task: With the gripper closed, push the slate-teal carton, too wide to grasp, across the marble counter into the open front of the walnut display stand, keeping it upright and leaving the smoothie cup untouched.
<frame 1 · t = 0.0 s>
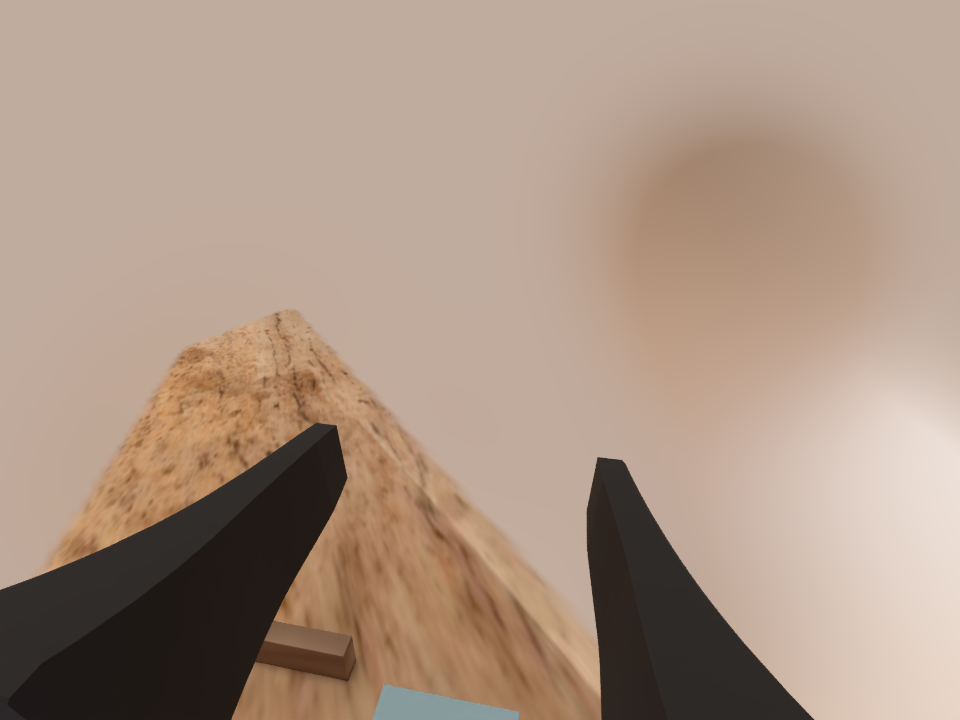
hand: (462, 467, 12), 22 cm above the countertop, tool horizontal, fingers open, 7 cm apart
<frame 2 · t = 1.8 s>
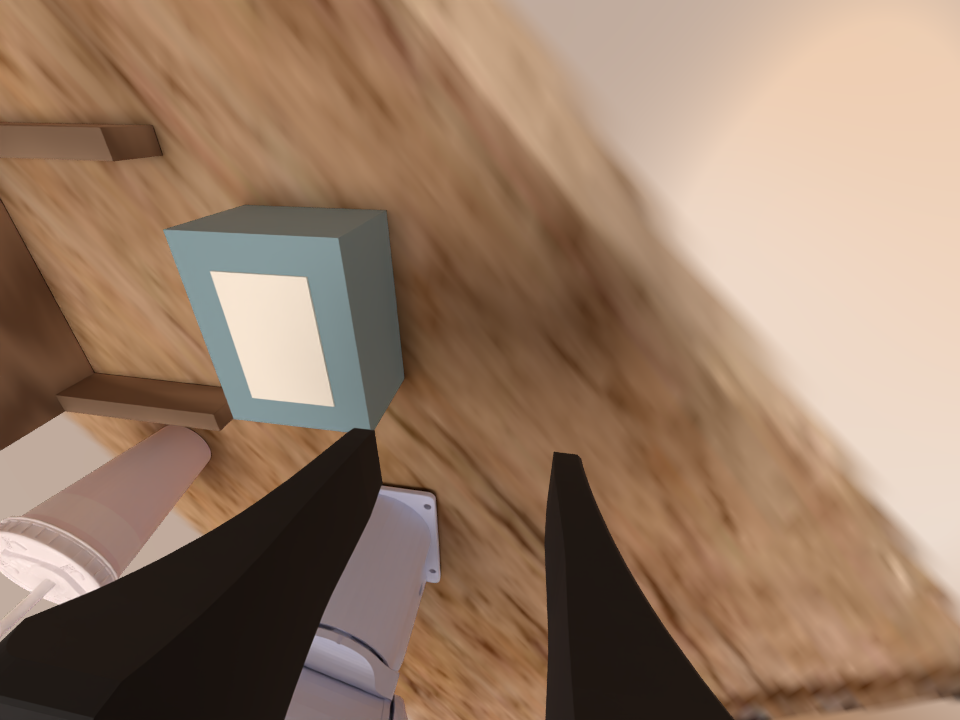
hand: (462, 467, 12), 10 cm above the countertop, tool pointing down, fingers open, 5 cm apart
smoothie: (187, 443, 30), on the countertop
carton: (332, 297, 22), on the countertop
display stand: (126, 283, 23), on the countertop
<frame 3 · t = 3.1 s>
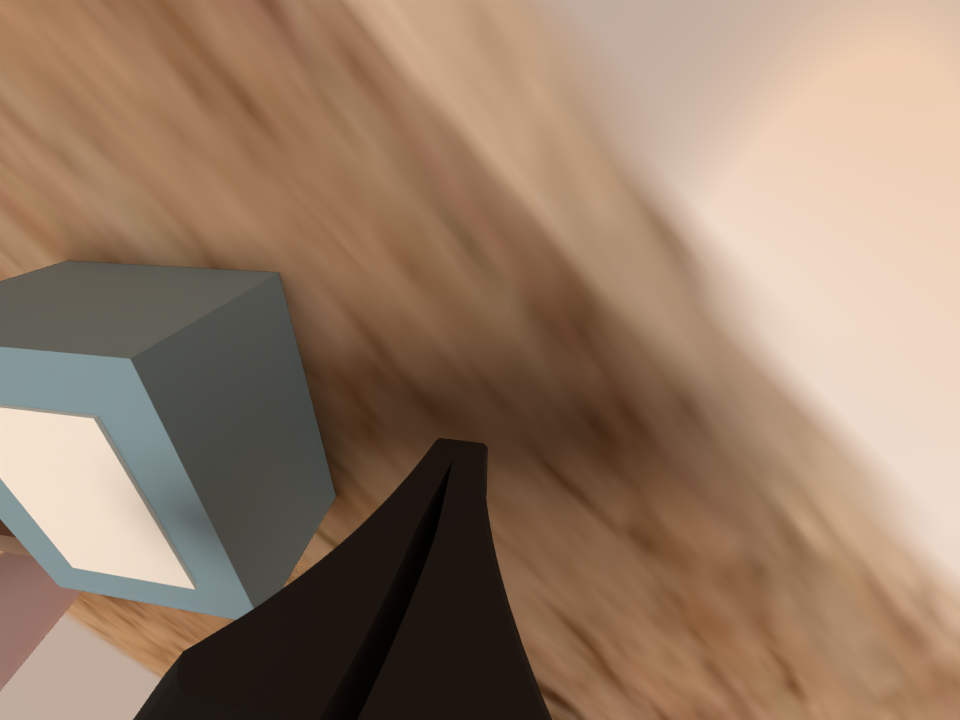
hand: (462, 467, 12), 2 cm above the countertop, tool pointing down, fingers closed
smoothie: (69, 549, 23), on the countertop
carton: (221, 389, 15), on the countertop
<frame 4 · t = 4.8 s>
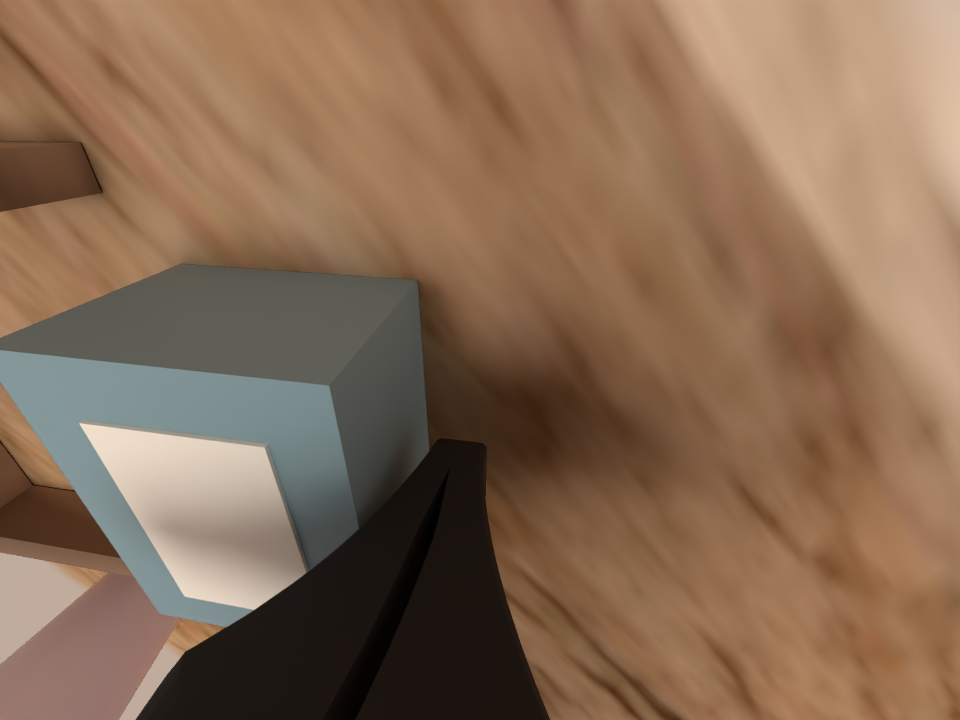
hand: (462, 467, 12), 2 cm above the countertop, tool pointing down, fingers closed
smoothie: (167, 568, 22), on the countertop
carton: (323, 403, 14), on the countertop, touching gripper
display stand: (63, 378, 15), on the countertop
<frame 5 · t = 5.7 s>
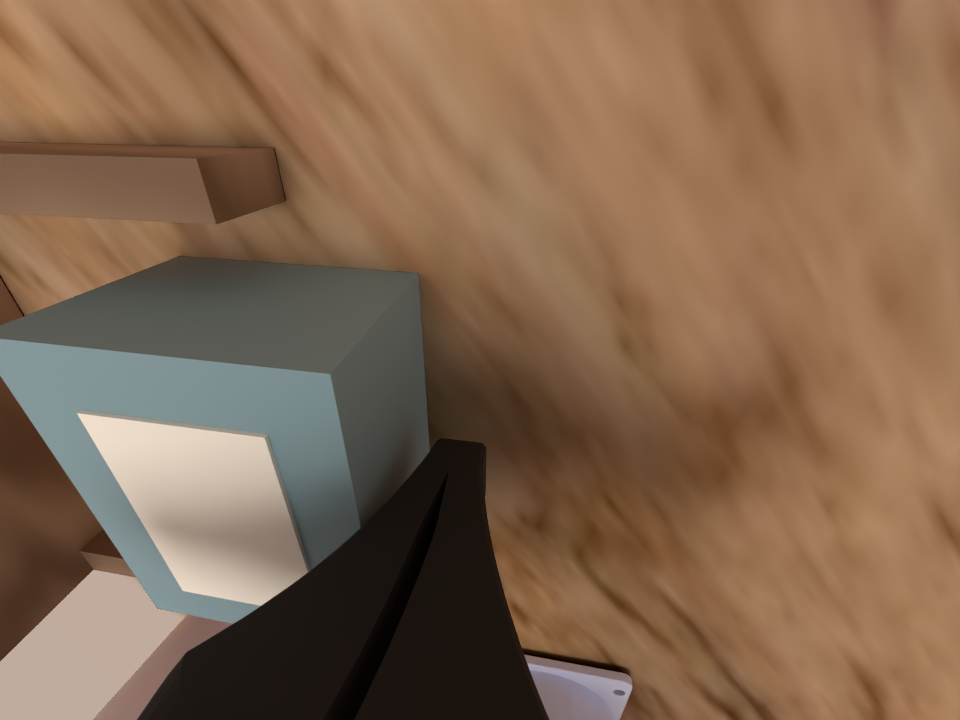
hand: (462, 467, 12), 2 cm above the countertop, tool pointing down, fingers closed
smoothie: (261, 585, 21), on the countertop
carton: (323, 397, 14), on the countertop, touching gripper
display stand: (195, 393, 15), on the countertop
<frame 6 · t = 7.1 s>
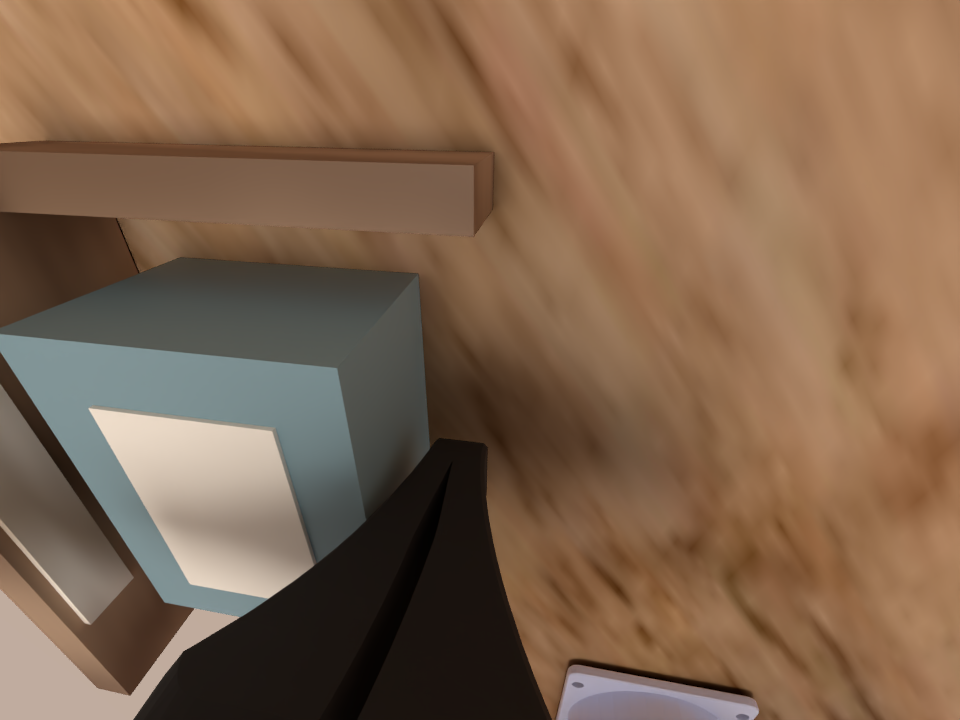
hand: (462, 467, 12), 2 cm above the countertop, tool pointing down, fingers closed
carton: (327, 394, 14), on the countertop, touching gripper
display stand: (337, 408, 14), on the countertop
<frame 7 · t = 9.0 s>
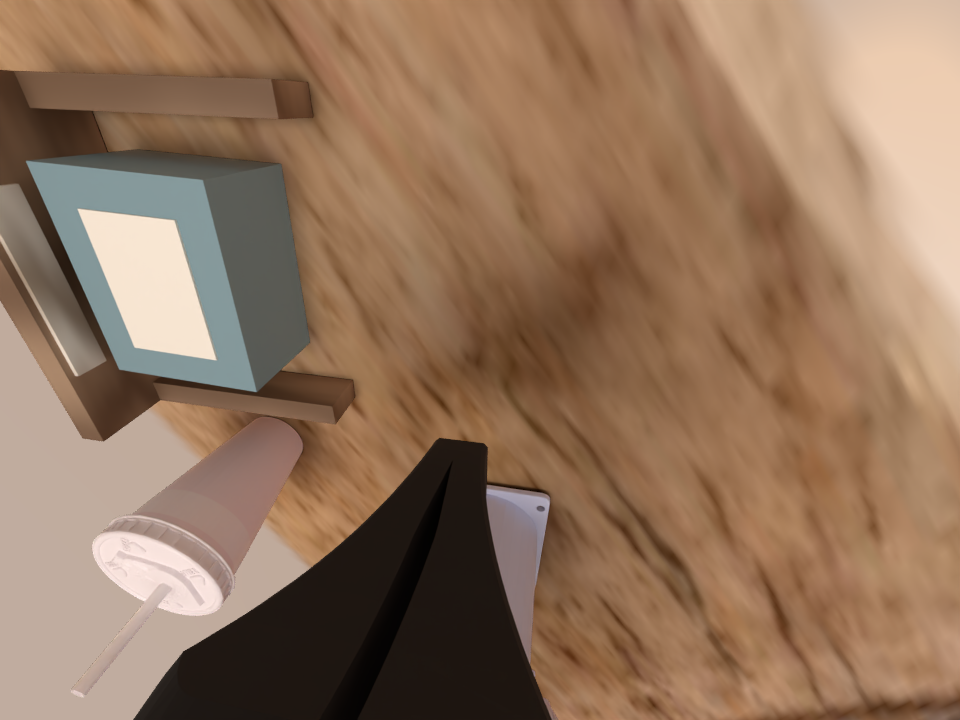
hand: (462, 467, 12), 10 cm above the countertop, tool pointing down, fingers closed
smoothie: (277, 436, 28), on the countertop
carton: (234, 253, 22), on the countertop
display stand: (242, 261, 21), on the countertop
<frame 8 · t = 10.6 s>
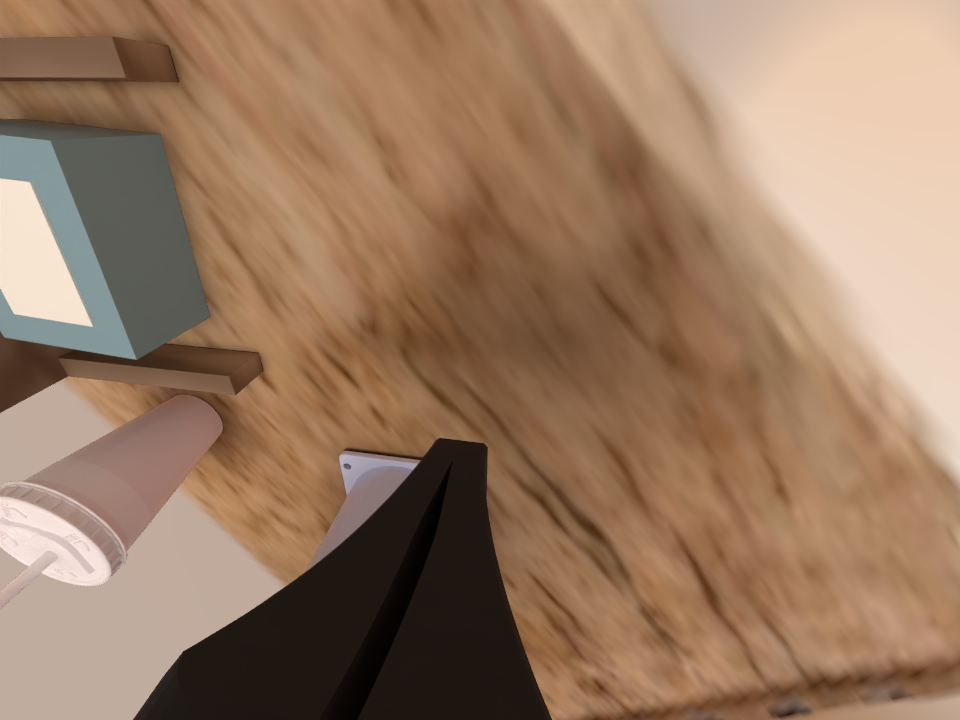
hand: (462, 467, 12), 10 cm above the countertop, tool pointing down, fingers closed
smoothie: (198, 415, 28), on the countertop
carton: (128, 226, 22), on the countertop
display stand: (135, 233, 22), on the countertop
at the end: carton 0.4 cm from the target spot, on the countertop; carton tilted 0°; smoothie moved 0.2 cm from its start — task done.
